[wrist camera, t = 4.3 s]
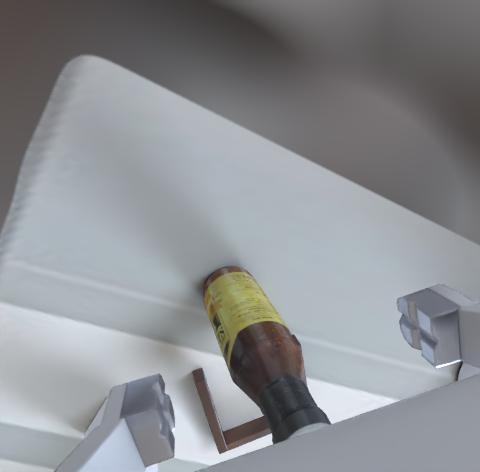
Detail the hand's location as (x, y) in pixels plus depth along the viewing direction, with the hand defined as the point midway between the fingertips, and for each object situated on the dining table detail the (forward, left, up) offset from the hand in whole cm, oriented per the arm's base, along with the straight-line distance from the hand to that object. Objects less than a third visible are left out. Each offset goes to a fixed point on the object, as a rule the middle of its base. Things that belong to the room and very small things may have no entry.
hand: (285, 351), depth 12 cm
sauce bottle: (-2, +14, -26) cm, 29 cm away
